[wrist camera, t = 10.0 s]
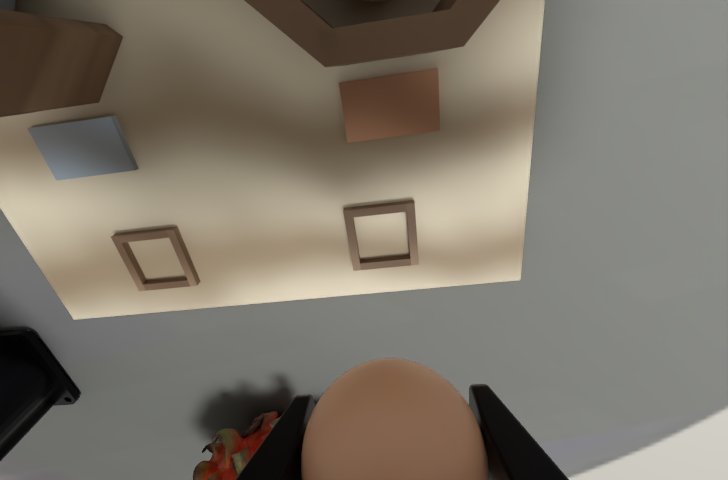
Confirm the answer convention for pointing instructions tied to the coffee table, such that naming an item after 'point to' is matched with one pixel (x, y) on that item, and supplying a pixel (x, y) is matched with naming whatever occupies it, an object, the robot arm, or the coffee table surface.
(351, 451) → the terracotta ball
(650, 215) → the coffee table surface
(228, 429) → the dragon fruit
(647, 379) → the coffee table surface
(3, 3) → the slate-blue ball in tube
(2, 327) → the coffee table surface
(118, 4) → the cream wooden tray
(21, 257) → the coffee table surface
